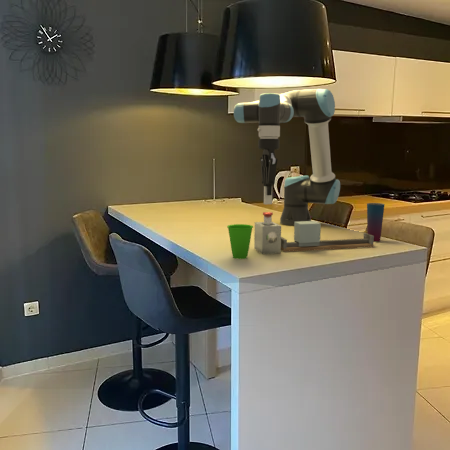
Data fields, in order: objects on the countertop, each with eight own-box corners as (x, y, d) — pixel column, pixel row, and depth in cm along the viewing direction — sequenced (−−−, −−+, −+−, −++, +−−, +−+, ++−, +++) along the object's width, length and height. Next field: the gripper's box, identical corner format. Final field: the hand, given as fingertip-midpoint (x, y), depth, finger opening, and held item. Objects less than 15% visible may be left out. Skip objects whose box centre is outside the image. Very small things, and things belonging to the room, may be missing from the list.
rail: (278, 248, 188) (278, 236, 188) (365, 244, 196) (366, 233, 196) (284, 251, 183) (284, 240, 182) (373, 247, 191) (373, 235, 190)
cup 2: (384, 239, 205) (386, 203, 202) (379, 242, 199) (381, 205, 197) (368, 238, 208) (370, 202, 206) (362, 240, 203) (364, 204, 200)
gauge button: (261, 233, 185) (261, 212, 183) (270, 232, 185) (270, 211, 184) (264, 234, 181) (264, 213, 180) (273, 234, 182) (274, 213, 181)
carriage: (293, 243, 190) (294, 221, 188) (313, 242, 191) (314, 220, 190) (299, 246, 184) (300, 224, 182) (319, 246, 186) (320, 223, 184)
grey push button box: (254, 248, 188) (254, 222, 187) (271, 247, 190) (272, 221, 188) (262, 254, 178) (263, 227, 177) (281, 253, 180) (281, 226, 178)
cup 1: (248, 261, 168) (248, 229, 166) (223, 259, 171) (223, 227, 170) (256, 255, 176) (256, 225, 175) (232, 253, 180) (232, 223, 178)
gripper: (253, 138, 183) (252, 202, 187) (264, 138, 170) (263, 206, 174) (273, 138, 185) (272, 201, 188) (285, 138, 172) (283, 205, 176)
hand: (267, 203), depth 181 cm, fingers closed
